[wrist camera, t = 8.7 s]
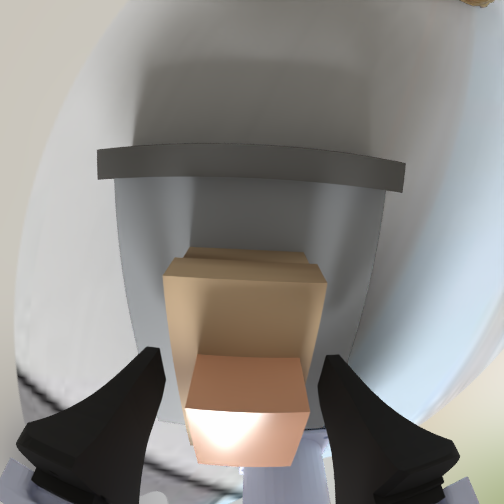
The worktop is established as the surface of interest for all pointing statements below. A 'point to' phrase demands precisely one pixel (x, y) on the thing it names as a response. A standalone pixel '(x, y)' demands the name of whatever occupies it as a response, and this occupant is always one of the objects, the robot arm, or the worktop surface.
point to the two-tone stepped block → (241, 307)
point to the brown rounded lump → (478, 2)
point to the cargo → (246, 410)
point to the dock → (248, 229)
